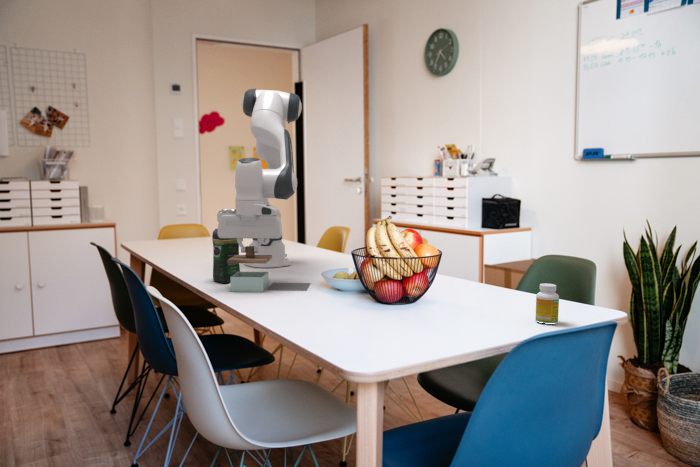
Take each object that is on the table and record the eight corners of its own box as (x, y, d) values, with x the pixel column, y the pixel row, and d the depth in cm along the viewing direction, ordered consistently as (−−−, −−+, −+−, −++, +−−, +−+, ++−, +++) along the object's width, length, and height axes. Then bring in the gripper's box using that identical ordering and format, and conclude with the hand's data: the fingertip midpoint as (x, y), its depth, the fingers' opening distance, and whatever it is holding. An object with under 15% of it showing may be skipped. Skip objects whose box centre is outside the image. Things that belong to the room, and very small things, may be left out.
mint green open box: (237, 286, 189) (237, 271, 189) (268, 286, 189) (268, 271, 189) (230, 292, 179) (230, 277, 179) (263, 293, 179) (262, 277, 178)
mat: (272, 283, 195) (272, 282, 194) (310, 284, 194) (310, 283, 194) (265, 291, 182) (265, 290, 182) (306, 292, 181) (306, 290, 181)
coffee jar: (244, 282, 198) (243, 228, 196) (223, 284, 192) (222, 229, 190) (229, 278, 205) (228, 226, 203) (209, 280, 199) (208, 227, 197)
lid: (235, 257, 189) (235, 244, 189) (272, 258, 189) (271, 244, 188) (227, 263, 177) (226, 248, 177) (265, 263, 177) (265, 248, 177)
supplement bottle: (555, 326, 141) (556, 287, 140) (533, 323, 144) (534, 285, 143) (559, 321, 146) (561, 284, 145) (538, 318, 149) (539, 282, 148)
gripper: (214, 209, 179) (215, 253, 180) (279, 209, 178) (280, 253, 180) (219, 208, 185) (220, 251, 186) (282, 208, 184) (283, 251, 186)
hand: (250, 252), depth 183 cm, fingers closed on lid, 3 cm apart
